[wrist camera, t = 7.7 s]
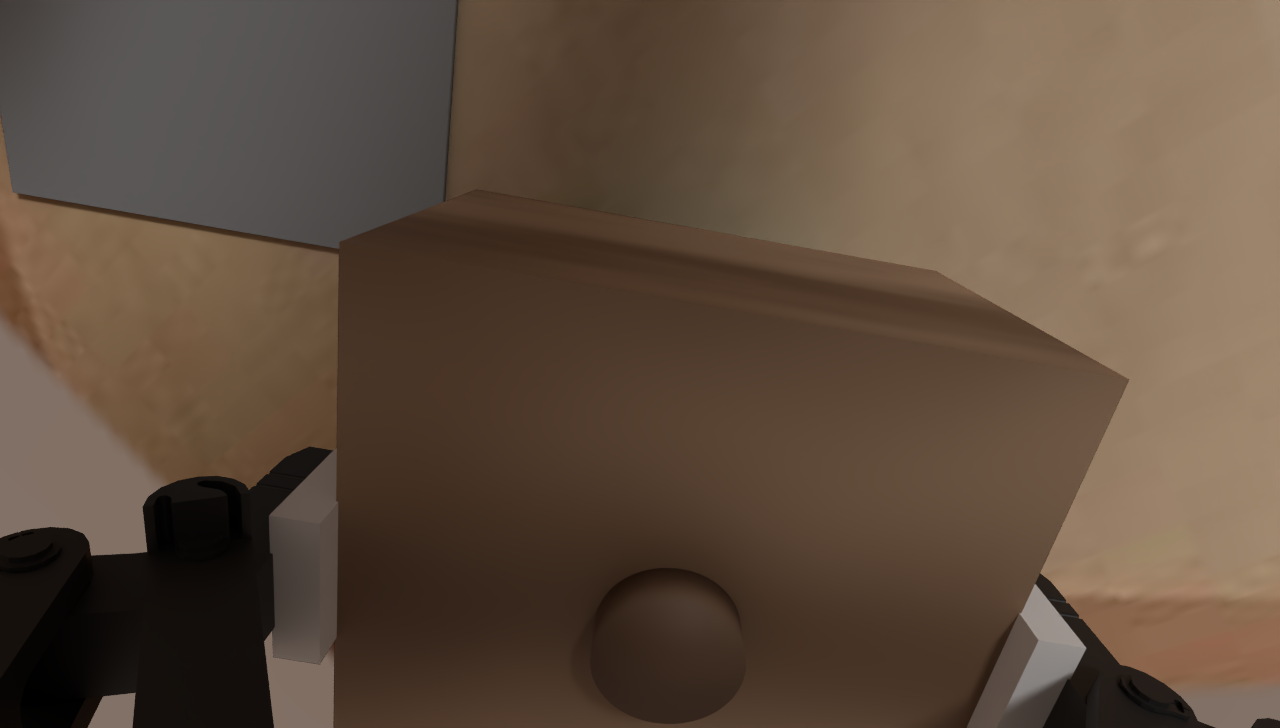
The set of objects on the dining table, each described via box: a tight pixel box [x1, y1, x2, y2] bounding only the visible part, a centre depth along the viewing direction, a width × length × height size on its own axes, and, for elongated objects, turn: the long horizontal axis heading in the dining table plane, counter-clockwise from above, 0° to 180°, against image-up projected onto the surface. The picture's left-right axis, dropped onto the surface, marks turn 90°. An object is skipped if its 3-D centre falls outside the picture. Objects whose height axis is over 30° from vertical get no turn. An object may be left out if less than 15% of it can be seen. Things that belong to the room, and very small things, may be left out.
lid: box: [334, 190, 1129, 728], centre depth 14 cm, size 11×11×8 cm
